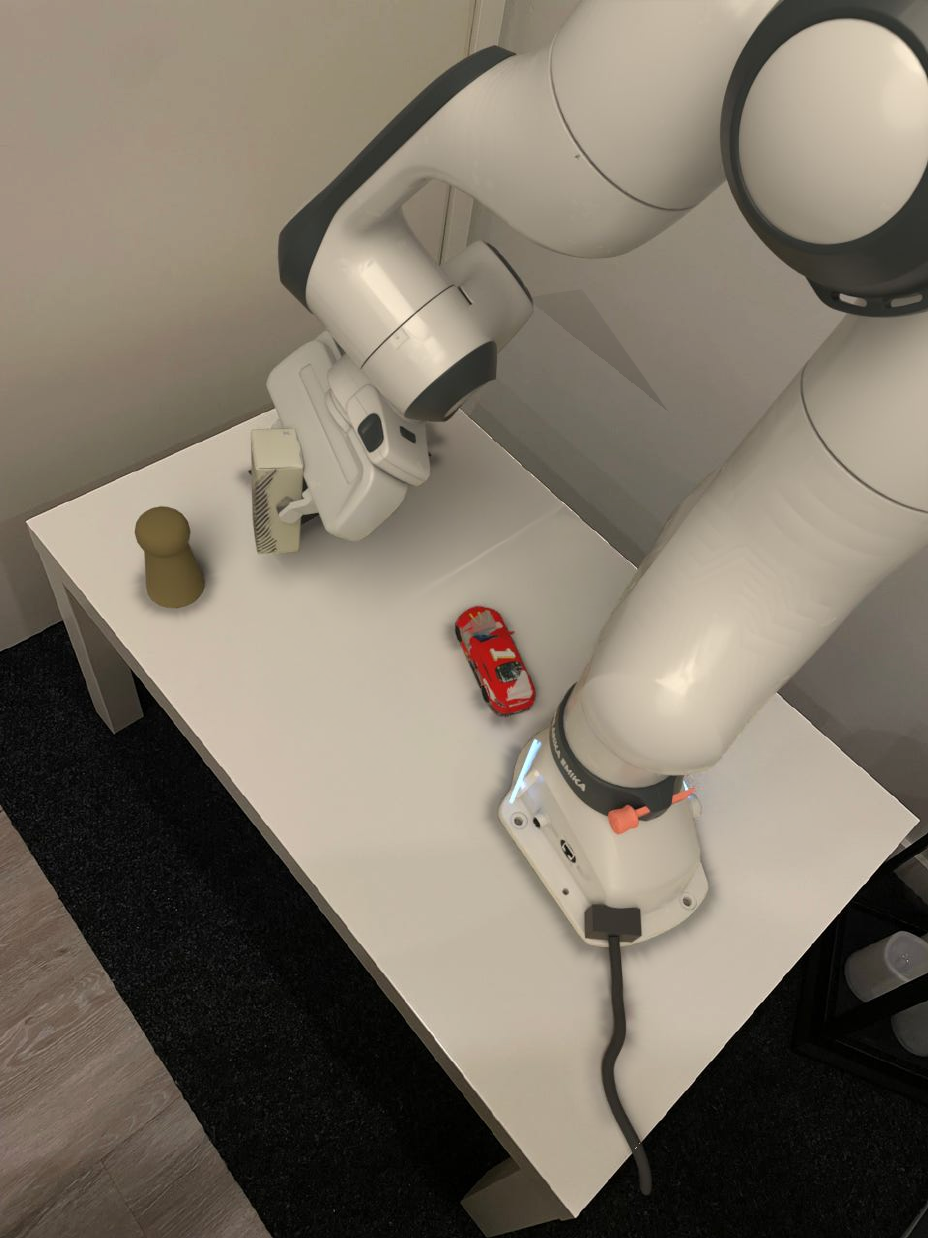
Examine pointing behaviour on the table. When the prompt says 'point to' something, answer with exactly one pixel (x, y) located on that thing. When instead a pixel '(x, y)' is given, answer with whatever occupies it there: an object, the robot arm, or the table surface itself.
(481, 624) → the race car
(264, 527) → the box
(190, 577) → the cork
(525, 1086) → the table surface
